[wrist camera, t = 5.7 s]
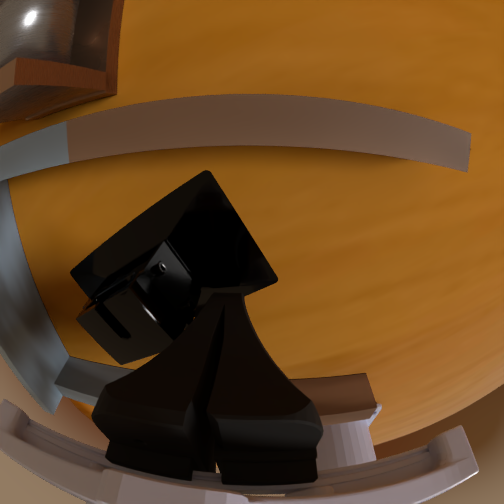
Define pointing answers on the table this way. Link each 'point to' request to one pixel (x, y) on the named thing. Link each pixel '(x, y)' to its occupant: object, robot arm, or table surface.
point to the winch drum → (56, 55)
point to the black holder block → (167, 270)
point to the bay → (180, 136)
